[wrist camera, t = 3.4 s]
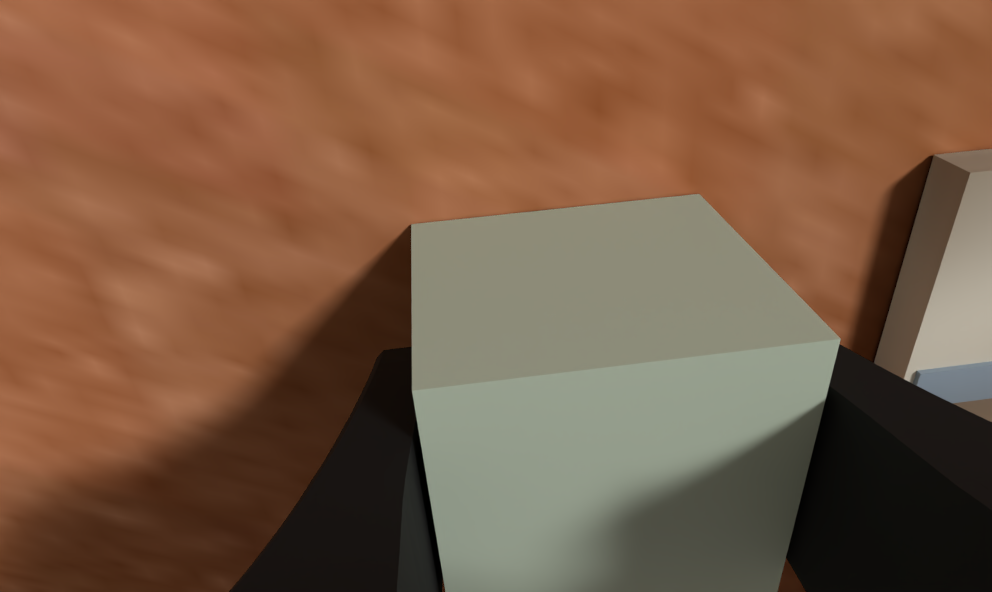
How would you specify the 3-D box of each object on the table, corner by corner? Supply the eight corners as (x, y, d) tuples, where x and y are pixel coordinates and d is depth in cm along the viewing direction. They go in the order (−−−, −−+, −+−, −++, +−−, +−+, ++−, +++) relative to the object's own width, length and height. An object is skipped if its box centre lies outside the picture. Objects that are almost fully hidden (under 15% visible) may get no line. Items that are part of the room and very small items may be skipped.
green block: (676, 413, 13) (775, 601, 9) (442, 442, 12) (455, 648, 9) (699, 194, 10) (840, 338, 7) (411, 224, 10) (411, 391, 7)
